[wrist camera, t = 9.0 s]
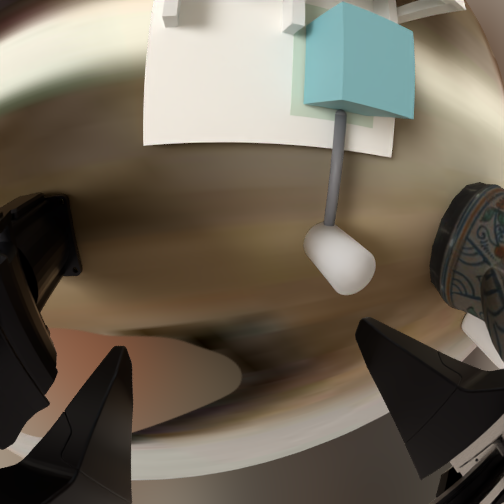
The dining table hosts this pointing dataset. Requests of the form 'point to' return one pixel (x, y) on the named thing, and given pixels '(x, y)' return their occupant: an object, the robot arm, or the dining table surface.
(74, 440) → the robot arm
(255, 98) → the shelf
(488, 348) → the milk bottle
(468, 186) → the beer stein
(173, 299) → the dining table surface
